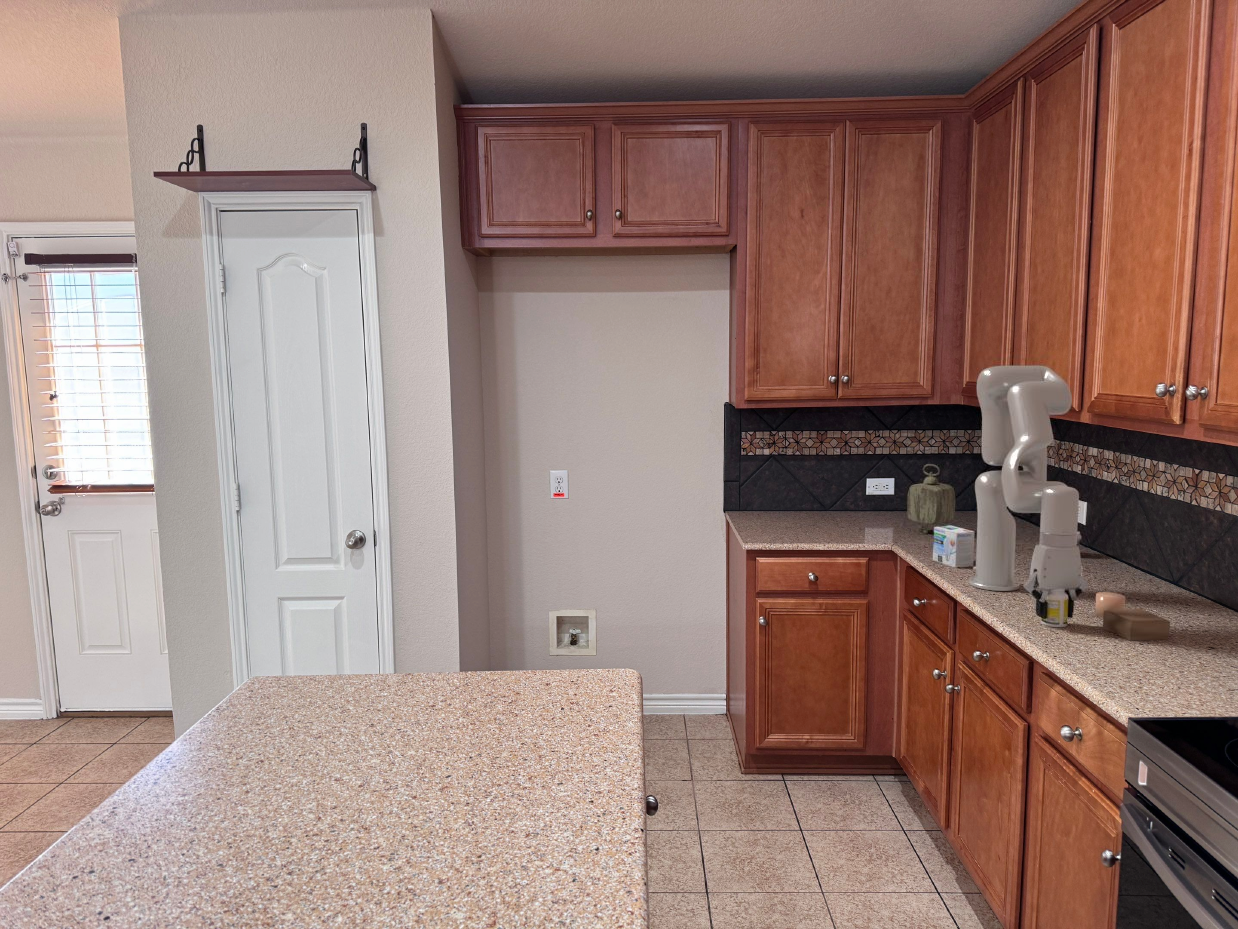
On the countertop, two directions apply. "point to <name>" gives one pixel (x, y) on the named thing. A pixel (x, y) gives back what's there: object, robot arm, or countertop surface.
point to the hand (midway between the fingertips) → (1054, 615)
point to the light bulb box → (953, 546)
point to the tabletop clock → (931, 502)
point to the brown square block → (1136, 624)
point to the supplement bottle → (1056, 608)
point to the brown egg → (1108, 602)
